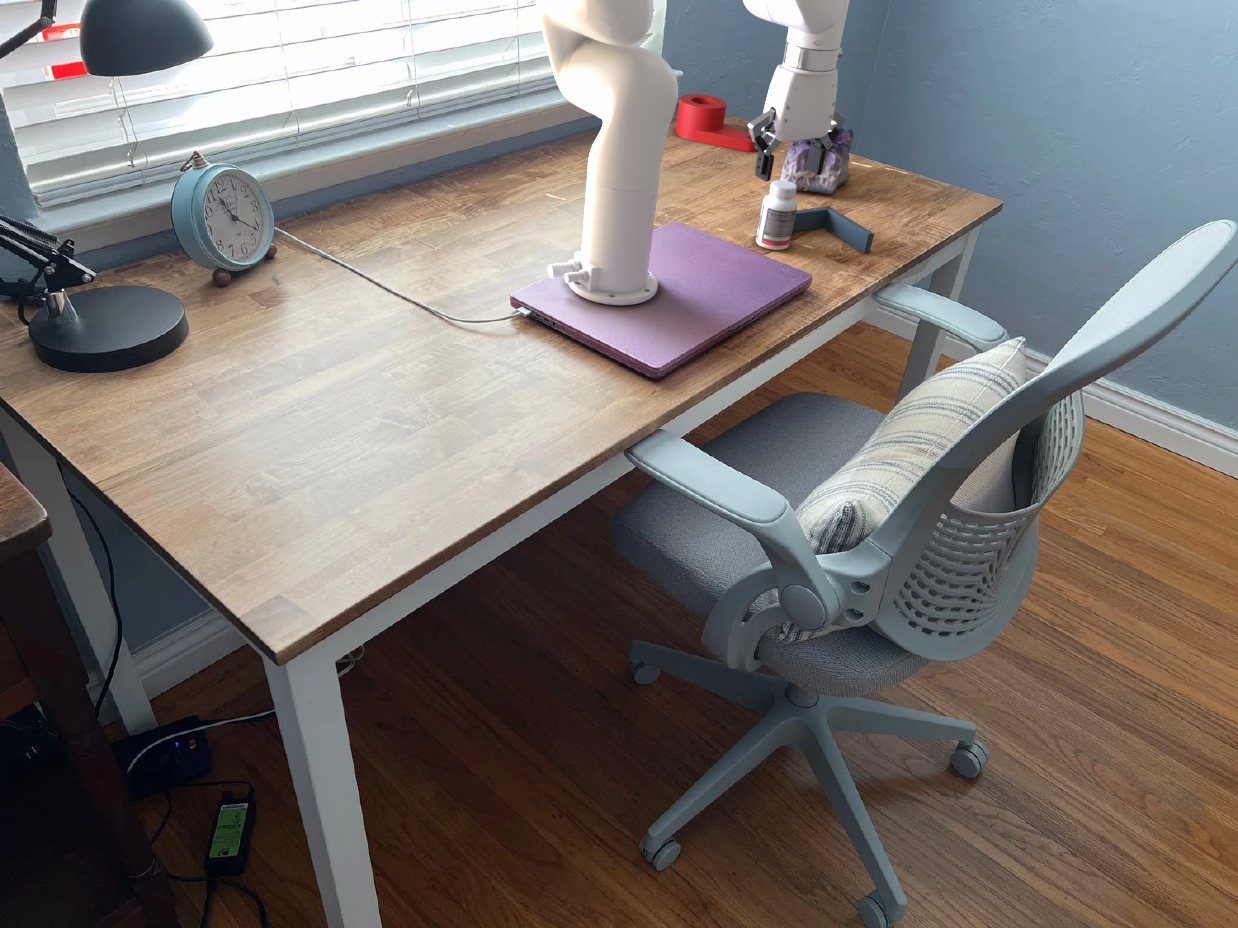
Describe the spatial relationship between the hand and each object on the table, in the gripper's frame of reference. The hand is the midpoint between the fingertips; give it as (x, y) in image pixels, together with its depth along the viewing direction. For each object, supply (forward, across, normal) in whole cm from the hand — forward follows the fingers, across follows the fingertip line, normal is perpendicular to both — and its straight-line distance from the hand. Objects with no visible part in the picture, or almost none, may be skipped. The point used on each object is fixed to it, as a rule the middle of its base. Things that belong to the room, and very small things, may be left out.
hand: (788, 175), depth 145 cm
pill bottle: (+11, +1, 0) cm, 11 cm away
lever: (+12, -19, -47) cm, 52 cm away
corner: (+11, -7, +2) cm, 14 cm away
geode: (+12, -25, -22) cm, 36 cm away
